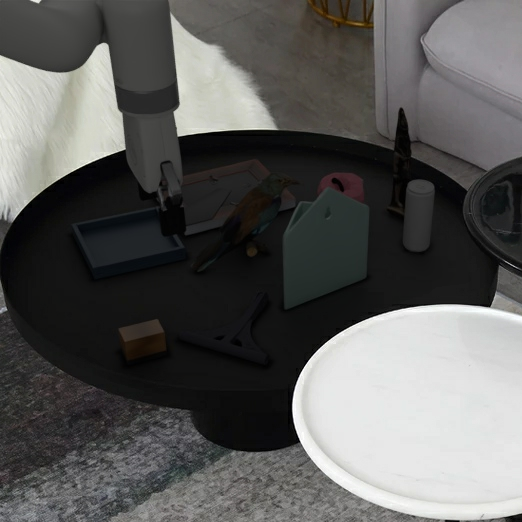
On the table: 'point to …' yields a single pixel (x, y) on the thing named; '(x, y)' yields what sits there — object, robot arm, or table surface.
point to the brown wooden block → (142, 341)
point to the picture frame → (221, 194)
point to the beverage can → (418, 215)
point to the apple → (344, 185)
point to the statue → (401, 166)
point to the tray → (126, 243)
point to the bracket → (233, 334)
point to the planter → (324, 247)
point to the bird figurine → (247, 221)
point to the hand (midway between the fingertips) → (162, 215)
